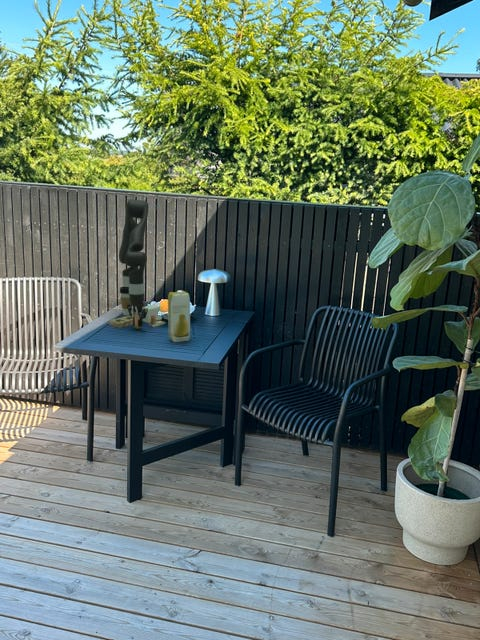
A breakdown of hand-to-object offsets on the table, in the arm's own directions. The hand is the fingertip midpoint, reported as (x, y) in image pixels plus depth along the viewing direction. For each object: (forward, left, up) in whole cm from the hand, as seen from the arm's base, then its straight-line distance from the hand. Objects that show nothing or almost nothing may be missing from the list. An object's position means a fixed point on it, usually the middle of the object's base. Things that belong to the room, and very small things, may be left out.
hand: (137, 325), depth 288 cm
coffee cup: (-26, +16, -2) cm, 30 cm away
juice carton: (+28, +1, -2) cm, 28 cm away
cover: (-8, +16, -2) cm, 18 cm away
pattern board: (+1, +12, -2) cm, 12 cm away
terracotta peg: (0, 0, -1) cm, 1 cm away
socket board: (-12, +2, -2) cm, 12 cm away
